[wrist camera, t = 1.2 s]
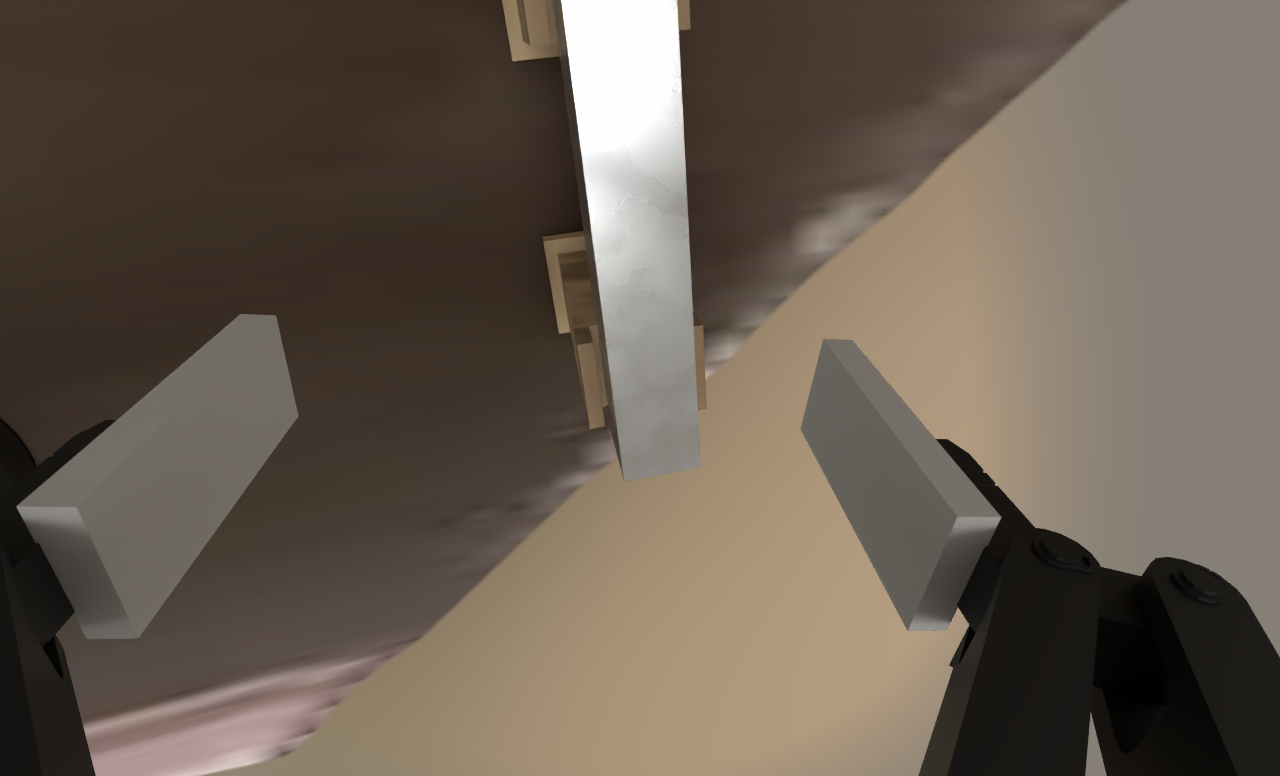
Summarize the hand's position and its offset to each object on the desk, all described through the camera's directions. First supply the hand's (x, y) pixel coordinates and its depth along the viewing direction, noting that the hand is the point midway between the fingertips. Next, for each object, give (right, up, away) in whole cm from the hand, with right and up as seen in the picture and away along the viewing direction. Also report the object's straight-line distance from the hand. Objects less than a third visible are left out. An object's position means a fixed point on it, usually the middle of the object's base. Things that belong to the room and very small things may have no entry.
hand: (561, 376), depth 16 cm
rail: (+1, +9, +14) cm, 17 cm away
